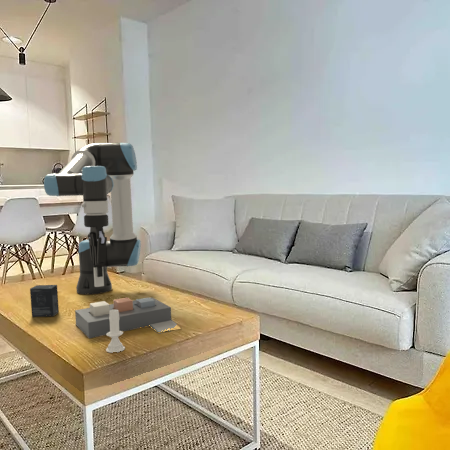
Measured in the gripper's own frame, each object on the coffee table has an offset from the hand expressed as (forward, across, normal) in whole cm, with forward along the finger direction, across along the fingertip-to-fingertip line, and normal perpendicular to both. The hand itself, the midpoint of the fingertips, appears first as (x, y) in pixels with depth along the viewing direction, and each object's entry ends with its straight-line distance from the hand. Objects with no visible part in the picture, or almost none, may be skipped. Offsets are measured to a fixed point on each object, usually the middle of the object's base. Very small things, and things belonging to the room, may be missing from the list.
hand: (99, 286), depth 143 cm
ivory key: (+10, 0, 0) cm, 10 cm away
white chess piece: (+14, +21, -2) cm, 26 cm away
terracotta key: (+10, 0, +8) cm, 13 cm away
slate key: (+11, 0, +16) cm, 19 cm away
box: (+14, -27, -12) cm, 33 cm away
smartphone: (+15, +9, +18) cm, 25 cm away
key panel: (+14, 0, +8) cm, 16 cm away
